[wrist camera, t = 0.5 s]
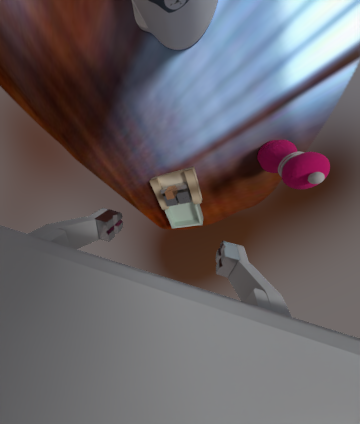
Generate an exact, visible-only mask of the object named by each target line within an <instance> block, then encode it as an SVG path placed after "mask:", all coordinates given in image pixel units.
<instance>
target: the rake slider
mask: <svg viewBox="0 0 360 424" xmlns="http://www.w3.org/2000/svg"><path fill="white" fill-rule="evenodd" d="M187 187H188V183H187V181H186V182H182V183H178V184H174V185H169V186H165V187H162V189H161V190H160V192H161V194H163V193H165V195H166V198H167V200H169V199H174V198H175V197H176V195H177V193H178V191H177V190H181V189H185V188H187Z"/></svg>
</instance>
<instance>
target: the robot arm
mask: <svg viewBox="0 0 360 424" xmlns="http://www.w3.org/2000/svg"><path fill="white" fill-rule="evenodd" d="M217 2H218V0H132V5H133V11H134V16H135V20H136V23H137V24H138V26H139V28H141V29H142V30H144V31H147V32H150V33H152V34H153V35H154V36H155V37H156V38H157V39H158V40H159V41H160V42H161V43H162V44H163V45H164V46H166V47H168V48H170V49H173V50H182V49H186V48H188V47H190V46H192V45H193V44H194V43H196V42H197V41H198V40H199V39H200V38H201V36H202V35H203V34H204V32H205V31H206V29H207V28H208V26H209V24H210V22H211V20H212V17H213V15H214V12H215V9H216V6H217ZM121 219H122V214H121V213H120V212H116V211H113V210H109V209H106V208H102V209H100V210H99V211H97V212H95V213H93V214H92V215H90V216H88V217H81V218H77V219H71V220H67V221H61V222H56V223H51V224H46V225H45V226H42V227H41V228H38V229H36V230H34V231H32V232H31V233H28V234H26V233H23V232H20V231H17V230H13V229H10V228H7V227H4V226H1V225H0V424H360V338H357V337H353V336H350V335H347V334H343V333H341V332H337V331H334V330H331V329H328V328H325V327H322V326H318V325H315V324H312V323H309V322H306V321H303V320H299V319H296V318H293V317H291V315H290V312H289V310H288V308H287V306H286V304H285V301H284V299H283V297H282V295H281V294H280V293H279V292H278V291H277V290H276V289H275V288H274V287H273V286H272V285H271V284H270V283H269V282H268V281H267V280H266V279H265V278H264V277H263V276H262V275H261V274H260V273H259V272H258V271H257V270H256V268H255V267H254V266H253V265H252V264H250V263H249V262H248V259H247V255H246V253H245V249H244V247H243V246H241V245H237V244H232V243H228V242H225V241H222V242H221V244H220V248H219V249H218V251H217V254H216V262H217V265H216V274H218V275H221V276H224V277H227V278H228V279H229V281H230V282H231V284H232V286H233V288H234V289H235V291H236V293H237V294H238V296H239V298H240V300H241V301H239V300H236V299H233V298H230V297H226V296H223V295H220V294H217V293H213V292H210V291H207V290H204V289H201V288H198V287H194V286H191V285H188V284H185V283H182V282H179V281H176V280H172V279H169V278H166V277H163V276H160V275H156V274H153V273H150V272H147V271H144V270H141V269H137V268H134V267H131V266H128V265H125V264H122V263H118V262H115V261H112V260H109V259H105V258H102V257H99V256H96V255H93V254H89V253H87V252H83V251H80V250H77V249H78V248H81V247H83V246H85V245H87V244H90V243H92V242H94V241H96V240H99V239H101V240H105V241H108V242H109V241H110V240H112V239H113V238H114V236H115V234H116V233H118V232H119V231H121V229H122V225H123V222H122V220H121Z"/></svg>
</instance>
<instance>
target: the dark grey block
mask: <svg viewBox="0 0 360 424" xmlns="http://www.w3.org/2000/svg"><path fill="white" fill-rule="evenodd" d="M176 196H177V198H178V201H179V204H184V203H190V202H191V200H192V196H191V193H190V190H189V188H185V189H181V190H178V193H177V195H176Z"/></svg>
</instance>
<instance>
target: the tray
mask: <svg viewBox="0 0 360 424" xmlns="http://www.w3.org/2000/svg"><path fill="white" fill-rule="evenodd" d="M165 213H166V215H167V217H168V220H169V222H170V224H171V227H172V228H180V227H188V226H196V225H203V215H202V212H201V208H200V205H199V204H194V203H193V202H190V203H184V204H178V205H174V206H170V207H169V209H165Z"/></svg>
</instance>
